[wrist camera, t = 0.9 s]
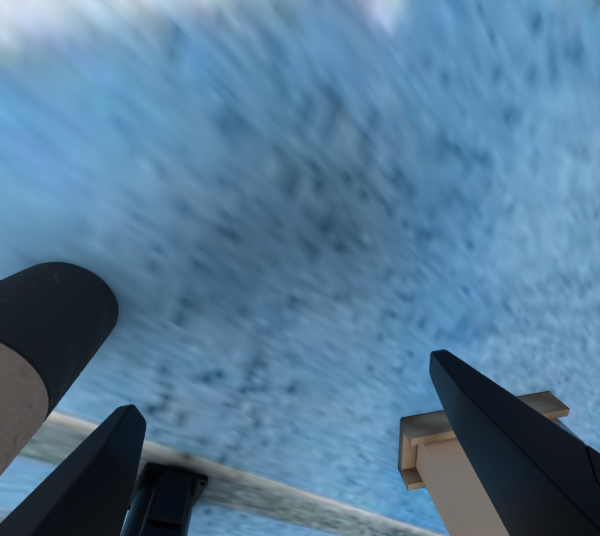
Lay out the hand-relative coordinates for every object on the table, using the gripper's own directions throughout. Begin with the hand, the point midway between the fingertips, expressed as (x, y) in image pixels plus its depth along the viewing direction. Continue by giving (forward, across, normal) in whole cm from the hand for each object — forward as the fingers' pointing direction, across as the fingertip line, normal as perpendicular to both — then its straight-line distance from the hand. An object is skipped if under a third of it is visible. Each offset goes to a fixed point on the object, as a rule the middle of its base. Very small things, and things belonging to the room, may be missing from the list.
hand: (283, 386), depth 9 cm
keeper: (+12, -12, +28) cm, 32 cm away
